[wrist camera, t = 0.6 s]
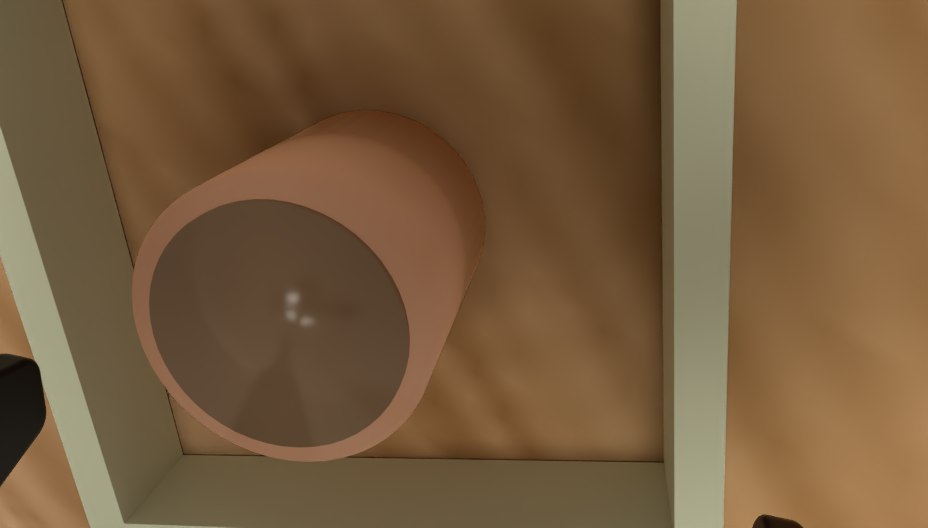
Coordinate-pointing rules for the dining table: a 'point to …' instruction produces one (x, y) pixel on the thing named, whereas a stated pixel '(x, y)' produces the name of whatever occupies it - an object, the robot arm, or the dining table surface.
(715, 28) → the shallow rimmed tray
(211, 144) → the dining table surface
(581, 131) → the dining table surface
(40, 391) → the robot arm
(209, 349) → the terracotta pot
